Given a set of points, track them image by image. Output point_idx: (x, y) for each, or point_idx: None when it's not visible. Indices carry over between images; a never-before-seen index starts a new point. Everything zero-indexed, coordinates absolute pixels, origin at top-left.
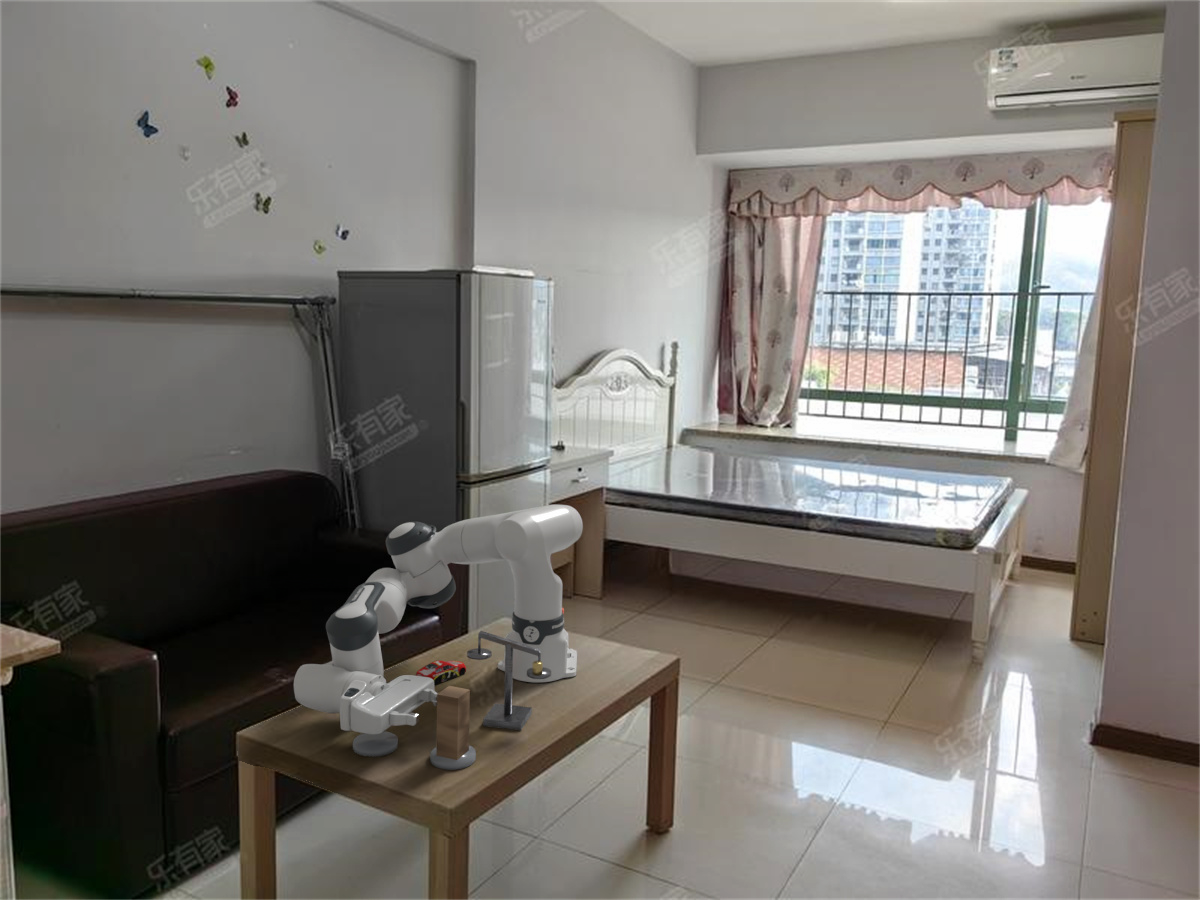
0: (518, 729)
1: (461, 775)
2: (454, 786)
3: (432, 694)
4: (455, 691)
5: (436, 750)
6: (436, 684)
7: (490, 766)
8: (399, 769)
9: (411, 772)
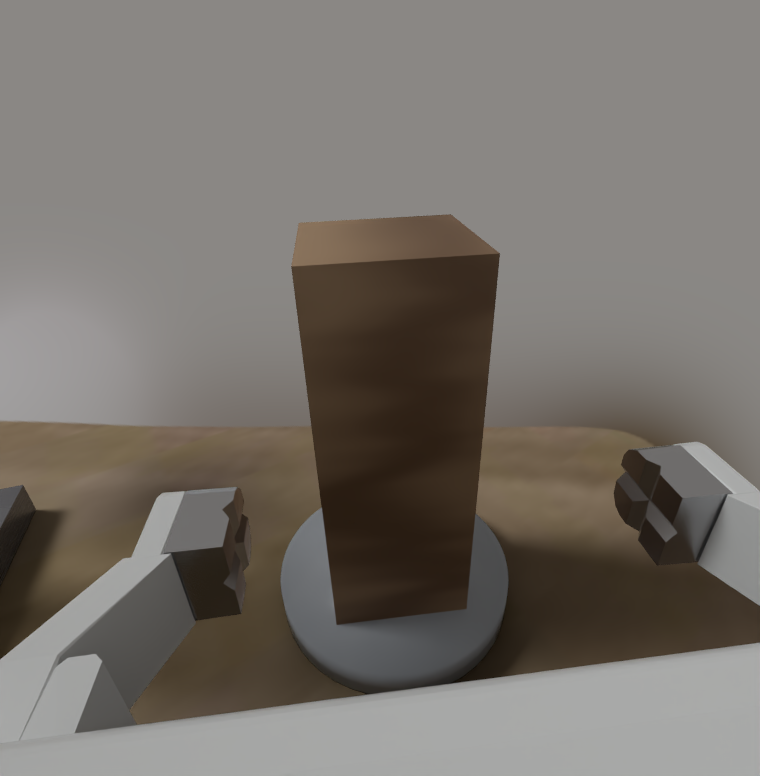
0: (29, 515)
1: (481, 492)
2: (555, 473)
3: (128, 619)
4: (371, 234)
5: (421, 644)
6: None
7: None
8: None
9: None
